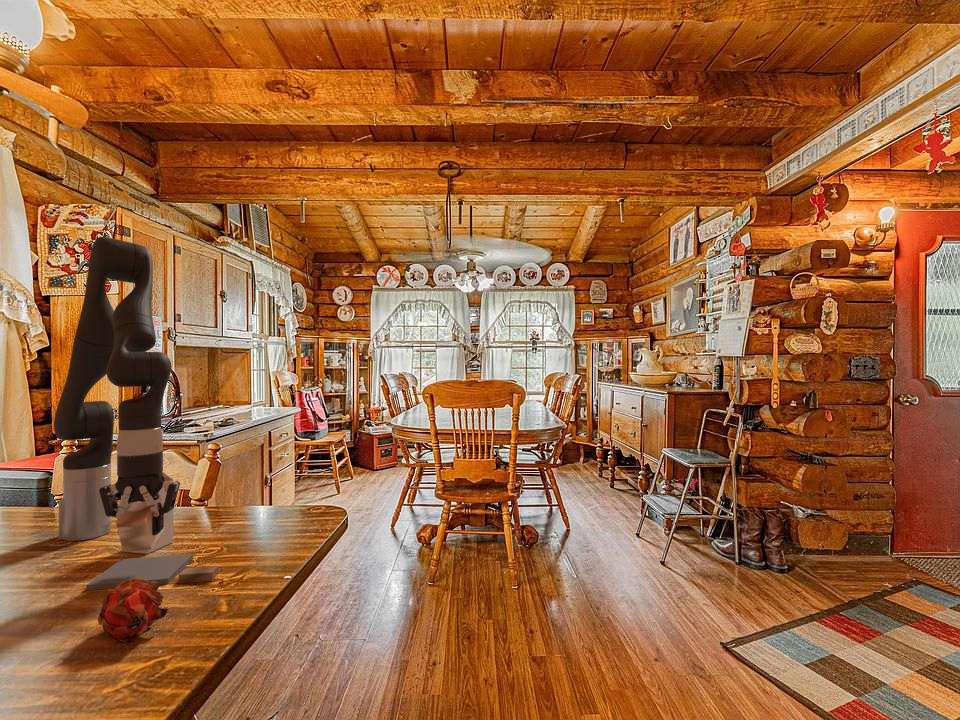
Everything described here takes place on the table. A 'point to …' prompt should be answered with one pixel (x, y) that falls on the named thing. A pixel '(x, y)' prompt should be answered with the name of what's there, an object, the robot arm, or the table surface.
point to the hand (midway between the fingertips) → (140, 534)
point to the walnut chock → (198, 574)
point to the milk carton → (168, 524)
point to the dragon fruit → (131, 608)
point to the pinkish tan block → (137, 528)
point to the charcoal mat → (141, 570)
